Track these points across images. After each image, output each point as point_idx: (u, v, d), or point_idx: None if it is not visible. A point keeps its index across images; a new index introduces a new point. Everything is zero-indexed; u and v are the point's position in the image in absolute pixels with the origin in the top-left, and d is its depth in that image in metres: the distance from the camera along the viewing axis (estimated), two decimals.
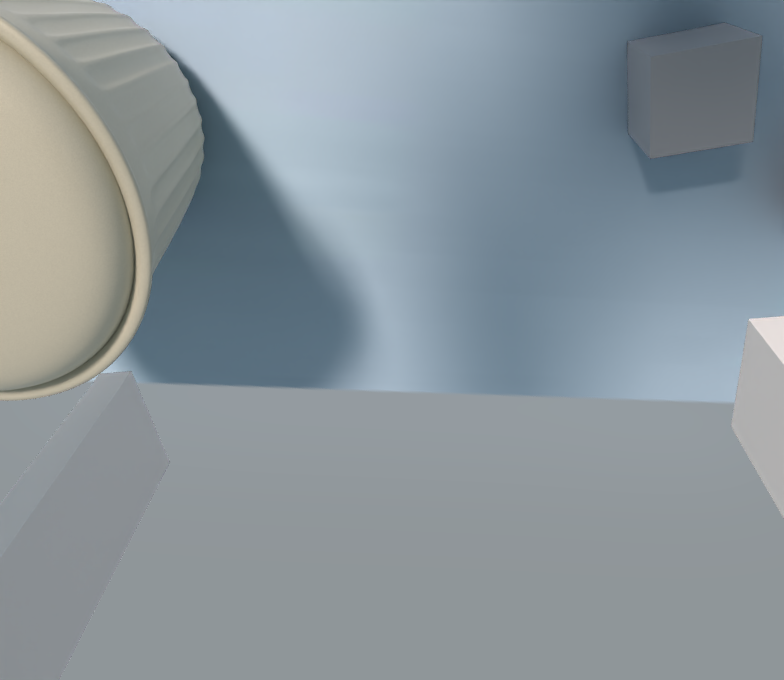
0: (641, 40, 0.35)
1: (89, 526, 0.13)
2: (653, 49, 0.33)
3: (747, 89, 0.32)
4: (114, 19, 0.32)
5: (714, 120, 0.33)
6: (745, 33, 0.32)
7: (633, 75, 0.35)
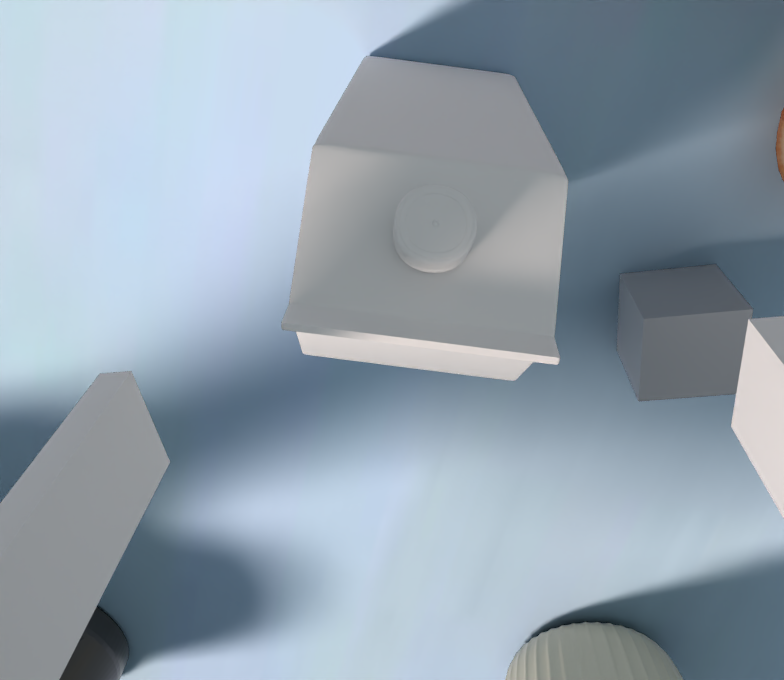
0: (619, 346, 0.38)
1: (89, 526, 0.13)
2: (631, 376, 0.35)
3: (693, 322, 0.32)
4: None
5: (716, 345, 0.32)
6: (637, 311, 0.33)
7: None
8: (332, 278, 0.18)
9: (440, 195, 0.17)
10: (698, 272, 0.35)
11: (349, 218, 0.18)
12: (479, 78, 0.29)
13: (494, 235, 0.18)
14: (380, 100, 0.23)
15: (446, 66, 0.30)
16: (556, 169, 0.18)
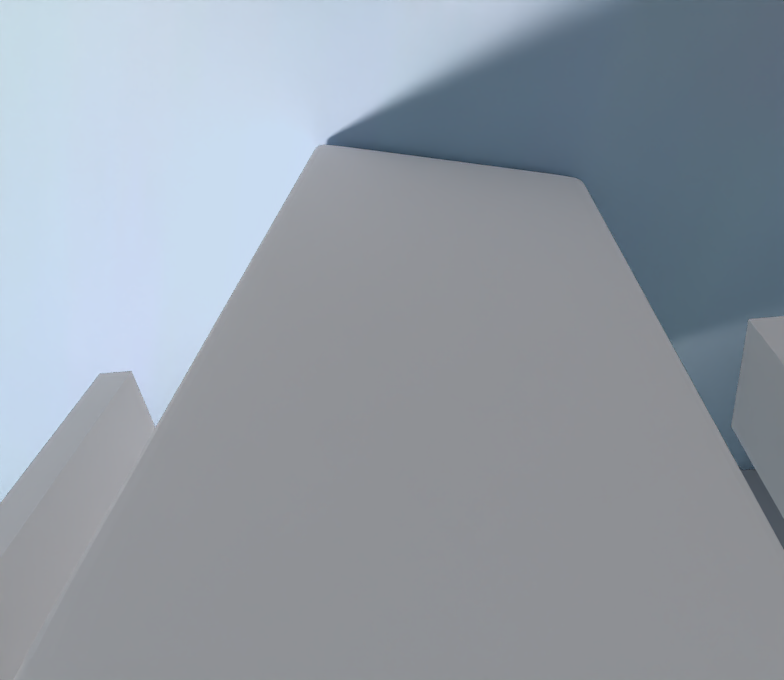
0: None
1: (89, 526, 0.13)
2: None
3: None
4: None
5: None
6: None
7: None
8: None
9: None
10: None
11: None
12: (524, 197, 0.15)
13: None
14: (313, 320, 0.10)
15: (461, 164, 0.17)
16: None
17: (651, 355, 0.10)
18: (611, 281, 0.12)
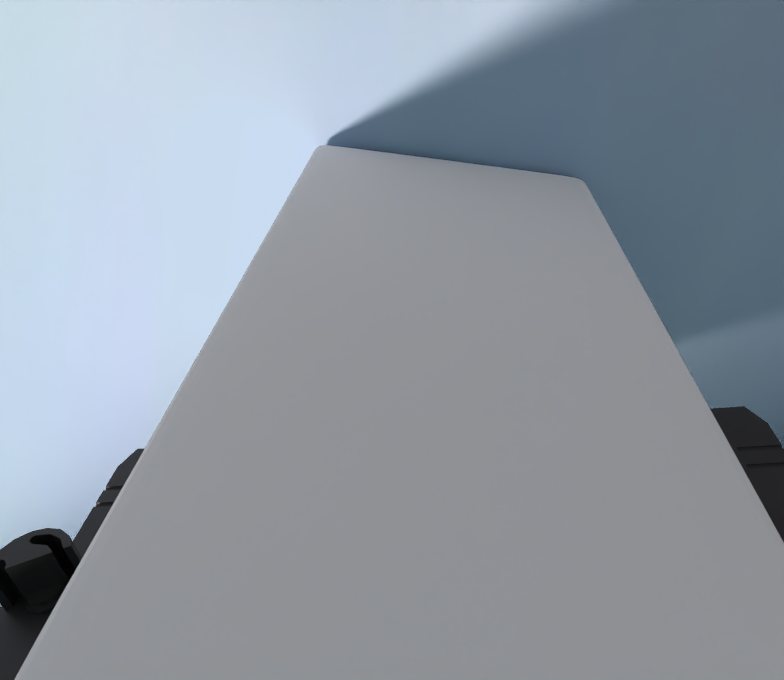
0: None
1: None
2: None
3: None
4: None
5: None
6: None
7: None
8: None
9: None
10: None
11: None
12: (526, 198, 0.15)
13: None
14: (314, 323, 0.10)
15: (463, 164, 0.17)
16: None
17: (655, 358, 0.10)
18: (614, 283, 0.12)
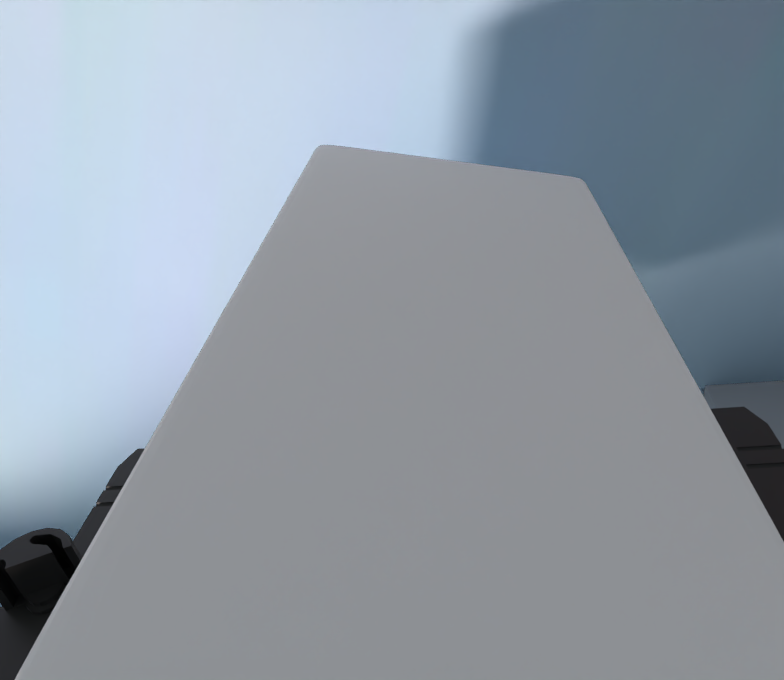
0: None
1: None
2: None
3: None
4: None
5: None
6: None
7: None
8: None
9: None
10: None
11: None
12: (526, 197, 0.15)
13: None
14: (314, 322, 0.10)
15: (463, 164, 0.17)
16: None
17: (655, 357, 0.10)
18: (614, 282, 0.12)
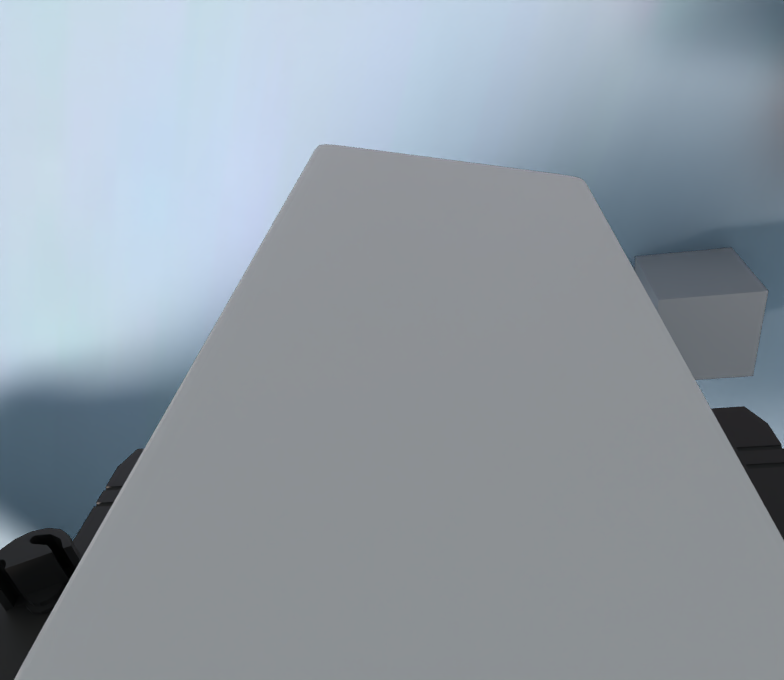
0: None
1: None
2: None
3: (708, 304, 0.32)
4: None
5: (730, 327, 0.32)
6: (651, 292, 0.33)
7: None
8: None
9: None
10: (713, 254, 0.35)
11: None
12: (526, 197, 0.15)
13: None
14: (314, 321, 0.10)
15: (463, 164, 0.17)
16: None
17: (655, 356, 0.10)
18: (614, 281, 0.12)
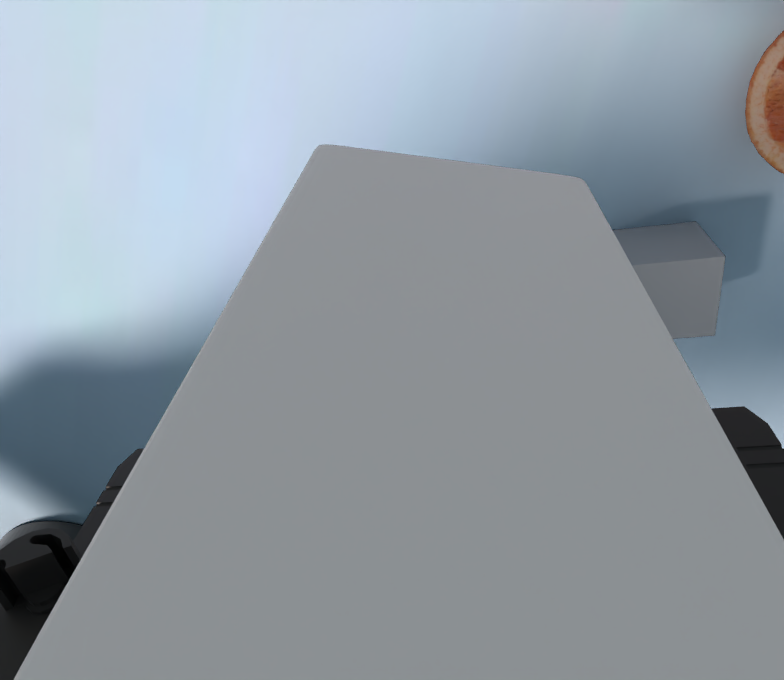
0: None
1: None
2: None
3: (672, 268, 0.36)
4: None
5: (693, 290, 0.36)
6: None
7: None
8: None
9: None
10: (679, 227, 0.39)
11: None
12: (526, 197, 0.15)
13: None
14: (314, 322, 0.10)
15: (463, 164, 0.17)
16: None
17: (656, 357, 0.10)
18: (615, 282, 0.12)
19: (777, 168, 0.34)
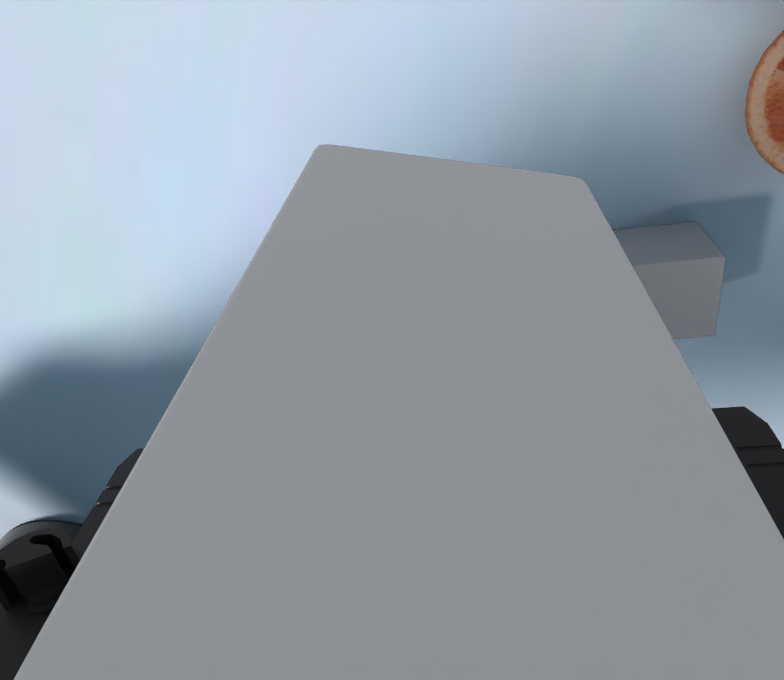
0: None
1: None
2: None
3: (673, 269, 0.36)
4: None
5: (694, 290, 0.36)
6: None
7: None
8: None
9: None
10: (679, 227, 0.39)
11: None
12: (526, 197, 0.15)
13: None
14: (314, 322, 0.10)
15: (463, 164, 0.17)
16: None
17: (656, 357, 0.10)
18: (615, 282, 0.12)
19: (777, 168, 0.34)
